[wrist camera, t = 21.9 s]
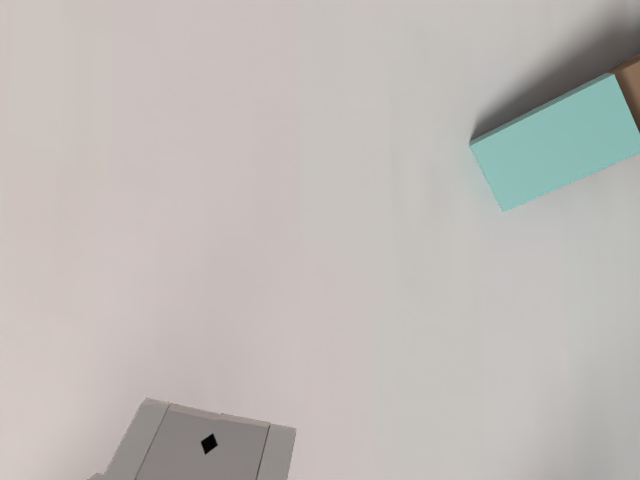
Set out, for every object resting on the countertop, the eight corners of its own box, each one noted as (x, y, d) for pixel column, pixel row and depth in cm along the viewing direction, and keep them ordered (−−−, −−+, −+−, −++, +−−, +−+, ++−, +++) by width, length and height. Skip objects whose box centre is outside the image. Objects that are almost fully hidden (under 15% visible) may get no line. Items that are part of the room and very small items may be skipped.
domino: (573, 177, 35) (726, 109, 32) (542, 110, 34) (695, 33, 31) (568, 171, 37) (713, 106, 33) (538, 106, 36) (684, 33, 32)
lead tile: (502, 212, 35) (646, 149, 32) (469, 146, 34) (614, 74, 31) (501, 204, 37) (637, 144, 33) (469, 141, 36) (606, 72, 32)
